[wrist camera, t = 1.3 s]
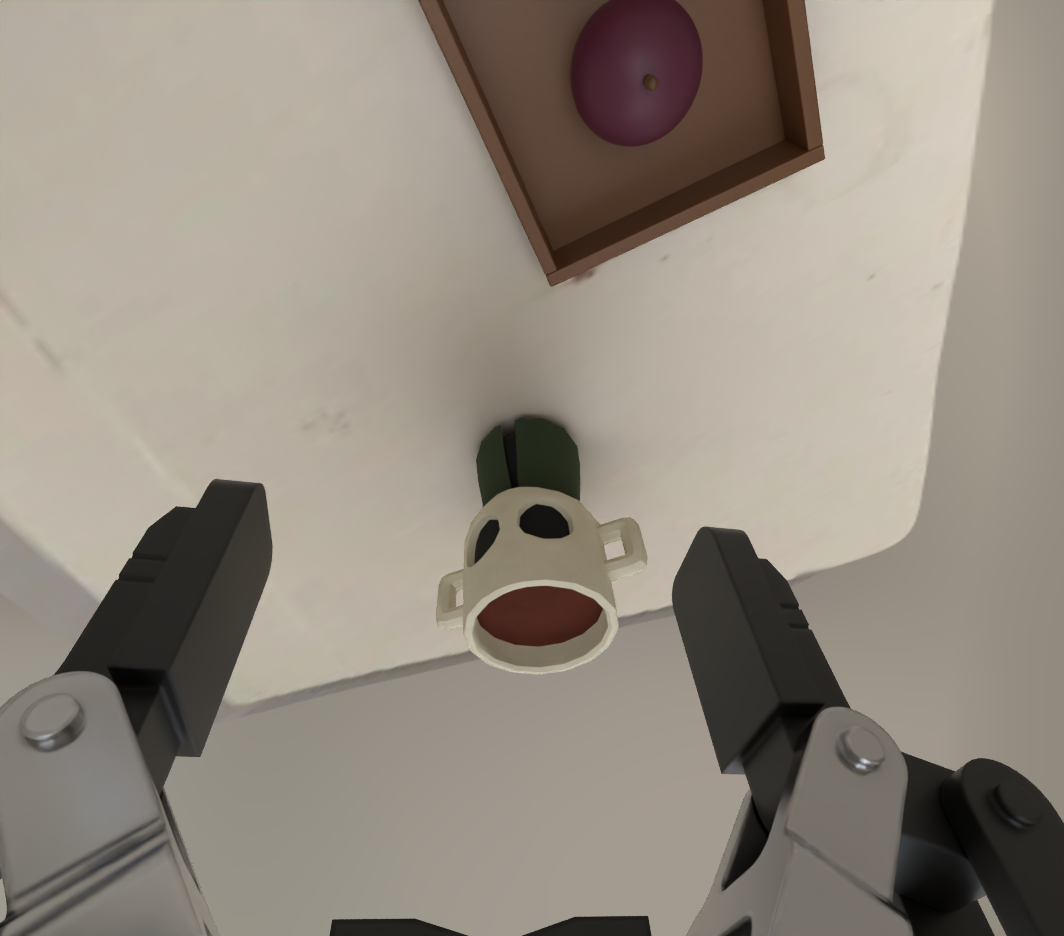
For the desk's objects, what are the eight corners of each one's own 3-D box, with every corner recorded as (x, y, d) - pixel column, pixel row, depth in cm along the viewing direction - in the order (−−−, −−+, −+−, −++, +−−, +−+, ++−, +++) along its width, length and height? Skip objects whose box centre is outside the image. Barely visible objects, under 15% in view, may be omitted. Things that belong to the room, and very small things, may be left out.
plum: (545, 30, 23) (557, 40, 19) (664, -39, 22) (706, -44, 18) (590, 154, 26) (610, 189, 21) (697, 99, 25) (741, 123, 20)
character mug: (592, 377, 34) (636, 546, 23) (628, 466, 38) (677, 641, 28) (421, 441, 36) (393, 621, 26) (472, 519, 40) (466, 699, 30)
